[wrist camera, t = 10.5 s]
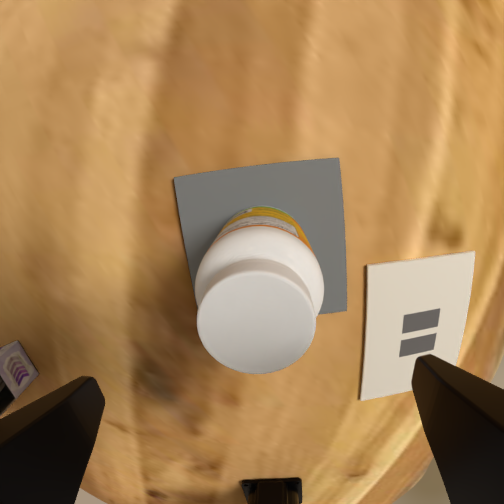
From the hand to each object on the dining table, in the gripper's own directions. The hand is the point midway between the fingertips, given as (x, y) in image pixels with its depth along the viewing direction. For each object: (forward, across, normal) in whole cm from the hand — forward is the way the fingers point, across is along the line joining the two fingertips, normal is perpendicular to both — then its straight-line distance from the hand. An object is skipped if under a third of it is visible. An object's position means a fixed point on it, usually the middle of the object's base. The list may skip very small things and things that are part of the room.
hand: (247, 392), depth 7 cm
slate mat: (+13, 0, 0) cm, 13 cm away
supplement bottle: (+13, 0, 0) cm, 13 cm away
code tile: (+13, -11, +8) cm, 19 cm away
